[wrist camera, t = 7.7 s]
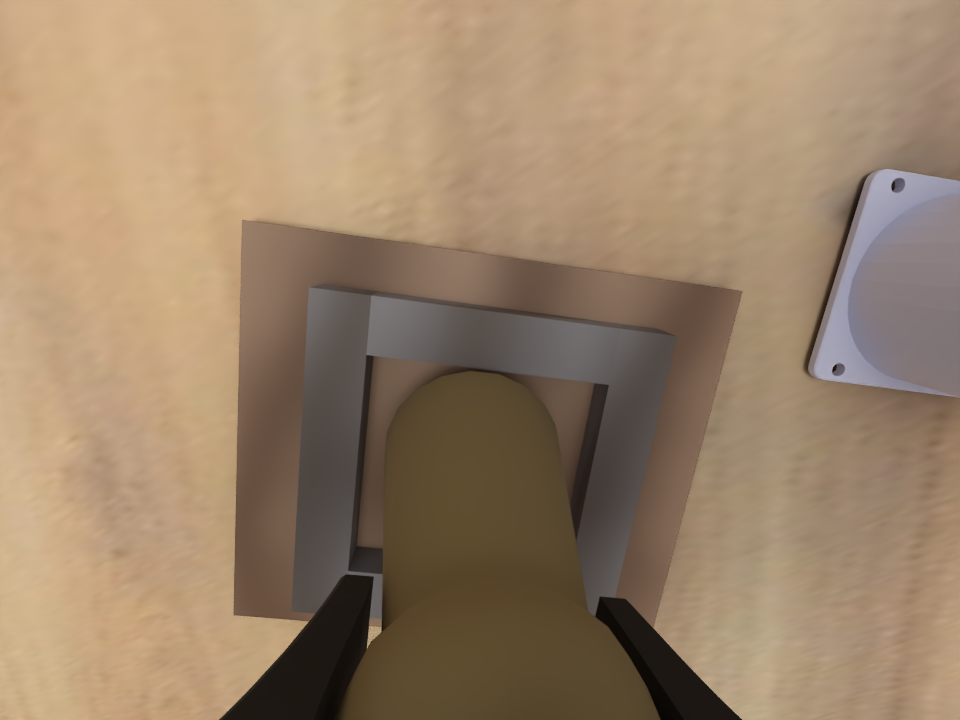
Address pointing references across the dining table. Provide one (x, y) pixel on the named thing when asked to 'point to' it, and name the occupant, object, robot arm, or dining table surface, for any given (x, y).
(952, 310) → the robot arm
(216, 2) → the dining table surface
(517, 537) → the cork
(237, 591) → the socket board
